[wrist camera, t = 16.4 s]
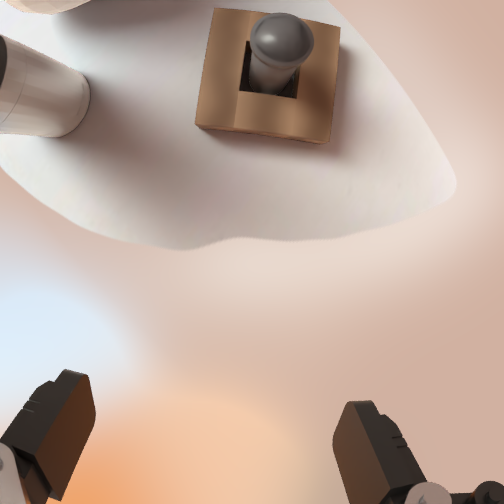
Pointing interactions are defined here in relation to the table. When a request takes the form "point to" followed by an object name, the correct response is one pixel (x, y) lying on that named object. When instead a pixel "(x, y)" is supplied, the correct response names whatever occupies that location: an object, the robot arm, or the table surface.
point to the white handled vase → (45, 5)
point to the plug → (277, 51)
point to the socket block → (263, 105)
